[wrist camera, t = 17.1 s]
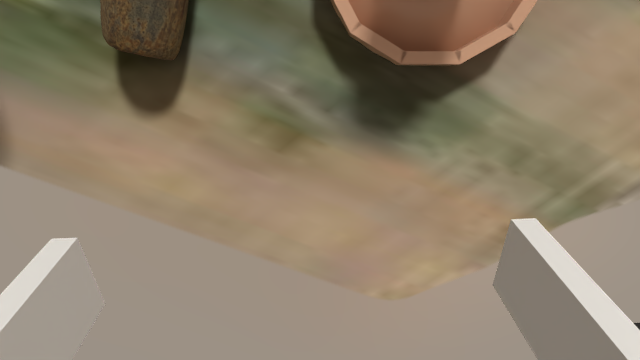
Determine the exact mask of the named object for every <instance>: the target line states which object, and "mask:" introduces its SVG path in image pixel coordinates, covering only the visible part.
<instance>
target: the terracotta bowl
mask: <svg viewBox="0 0 640 360" xmlns="http://www.w3.org/2000/svg"><path fill="white" fill-rule="evenodd" d="M330 1H331V3H332V5H333V7H334V10H335V12H336V13H337V15H338V17H339V18H340V20H341V22H342V23H343V25H344V27H345V28H346V30H347V32H348V34H349V36H350V37H352V38H354V39H355V40H357V41H359V42H360V43H361V44H362V45H364V46H365V47H366V48H368V49H369V50H370V51H372V52H374V53H376V54H378V55H379V56H381V57H383V58H386V59H388V60H389V61H391V62H392V63H394V64H396V65H418V66H426V65H458V64H461V63H463V62H465V61H467V60H468V59H470V58H472V57H474V56H475V55H477V54H479V53H481V52H483V51H484V50H486V49H488V48H490V47H491V46H493V45H495V44H497V43H498V42H500V41H502V40H504V39H506V38H507V37H509V36H511V35H513V34H514V33H516V32H517V30H518V29H519V27H520V26H521V24H522V23H523V21H524V20H525V18H526V17H527V15H528V14H529V12H530V11H531V9H532V8H533V6H534V5H535V3H536V2H537V0H330Z"/></svg>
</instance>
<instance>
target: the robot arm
mask: <svg viewBox="0 0 640 360" xmlns="http://www.w3.org/2000/svg"><path fill="white" fill-rule="evenodd" d="M493 286H494V288H495V290H496V291H497V293H498V295H499V296H500V298H501V300H502V301H503V303H504V305H505V306H506V308H507V310H508V311H509V313H510V315H511V316H512V318H513V320H514V321H515V323H516V324H517V326H518V328H519V329H520V331H521V333H522V334H523V336H524V338H525V339H526V341H527V343H528V344H529V346H530V348H531V349H532V351H533V353H534V354H535V356H536V358H537V359H538V360H640V323H632V321H631V320H630V319H629V318H628V317H627V316H626V315H625V314H624V313H623V312H622V311H621V310H620V308H619V307H618V306H617V305H616V304H615V303H614V302H613V301H612V300H611V299H610V298H609V297H608V296H607V295H606V293H605V292H604V291H603V290H602V289H601V288H600V287H599V286H598V285H597V284H596V283H595V282H594V281H593V279H592V278H591V277H590V276H589V275H588V274H587V273H586V272H585V271H584V270H583V269H582V268H581V267H580V266H579V265H578V264H577V262H575V260H574V259H573V258H572V257H571V256H570V255H569V254H568V253H567V252H566V251H565V249H564V248H563V247H562V246H561V245H560V244H559V243H558V242H557V241H556V240H555V239H554V238H553V237H552V236H551V234H550V233H549V232H548V231H547V230H546V229H545V228H544V227H543V226H542V225H541V224H540V223H539V222H538V220H537V219H536V218H532V219H511V222H510V225H509V229H508V232H507V236H506V239H505V243H504V246H503V250H502V254H501V257H500V261H499V264H498V268H497V271H496V275H495V278H494V282H493ZM104 304H105V301H104V299H103V297H102V294H101V292H100V289H99V287H98V285H97V282H96V280H95V278H94V275H93V273H92V270H91V268H90V266H89V263H88V261H87V259H86V256H85V254H84V251H83V249H82V247H81V244H80V242H79V240H78V238H58V239H51V240H50V241H49V242H48V243H47V244H46V245H45V246H44V247H43V249H42V250H41V251H40V252H39V253H38V254H37V255H36V256H35V257H34V258H33V260H32V261H31V262H30V263H29V264H28V265H27V266H26V267H25V268H24V269H23V270H22V272H21V273H20V274H19V275H18V276H17V277H16V278H15V279H14V280H13V281H12V282H11V284H10V285H9V286H8V287H7V288H6V289H5V290H4V291H3V292H2V293H1V294H0V360H73V358H74V356H75V355H76V353H77V351H78V349H79V348H80V346H81V344H82V343H83V341H84V339H85V337H86V336H87V334H88V332H89V331H90V329H91V327H92V325H93V324H94V322H95V320H96V319H97V317H98V315H99V313H100V312H101V310H102V308H103V306H104Z"/></svg>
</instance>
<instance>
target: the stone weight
mask: <svg viewBox="0 0 640 360" xmlns="http://www.w3.org/2000/svg"><path fill="white" fill-rule="evenodd" d="M188 2H189V0H100V3H101V24H102V32H103V36H104V38H105V40H106V42H107V43H108V44H109V45H110V46H112V47H114V48H115V49H117V50H120V51H123V52H128V53H132V54H137V55H141V56H146V57H152V58H158V59H162V60H173V59H175V58H176V56H177V55H178V52H179V50H180V47H181V43H182V39H183V34H184V28H185V23H186V17H187V10H188Z"/></svg>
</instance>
